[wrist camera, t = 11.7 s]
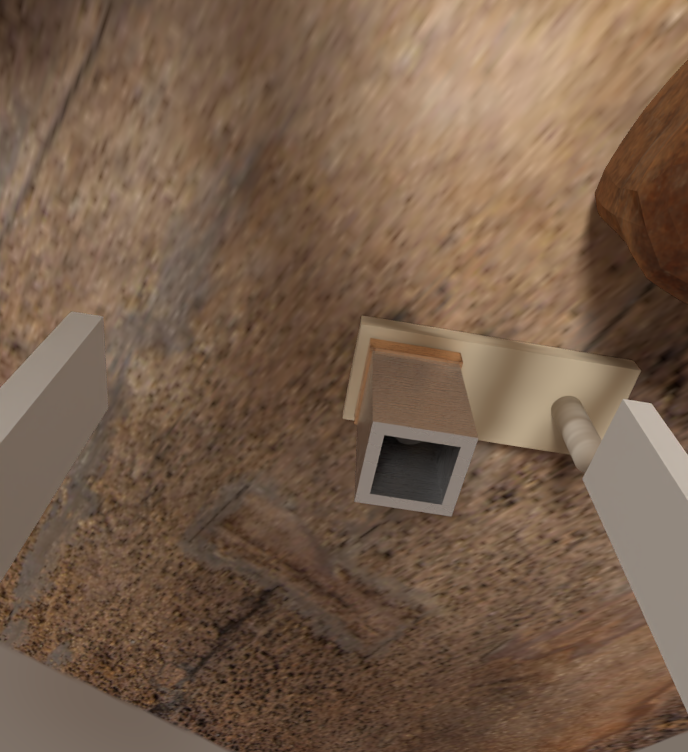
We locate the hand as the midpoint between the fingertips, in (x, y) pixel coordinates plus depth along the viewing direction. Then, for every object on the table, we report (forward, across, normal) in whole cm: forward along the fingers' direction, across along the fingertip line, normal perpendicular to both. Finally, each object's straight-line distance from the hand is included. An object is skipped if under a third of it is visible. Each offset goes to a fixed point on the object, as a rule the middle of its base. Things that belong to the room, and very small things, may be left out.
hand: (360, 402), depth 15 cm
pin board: (+26, +12, -14) cm, 31 cm away
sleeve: (+24, +6, -14) cm, 29 cm away
